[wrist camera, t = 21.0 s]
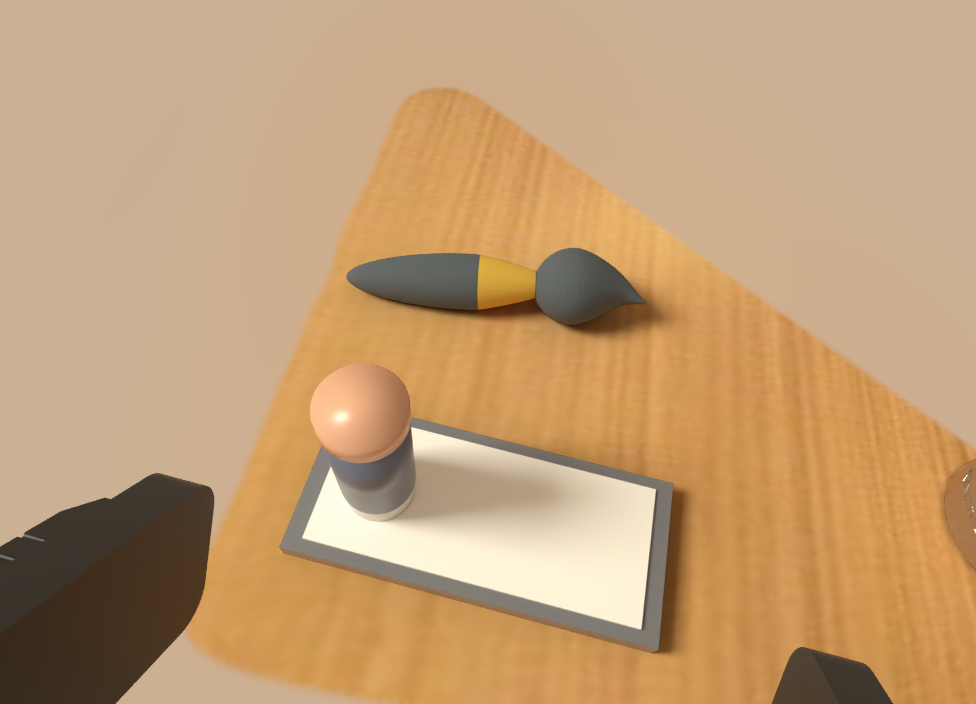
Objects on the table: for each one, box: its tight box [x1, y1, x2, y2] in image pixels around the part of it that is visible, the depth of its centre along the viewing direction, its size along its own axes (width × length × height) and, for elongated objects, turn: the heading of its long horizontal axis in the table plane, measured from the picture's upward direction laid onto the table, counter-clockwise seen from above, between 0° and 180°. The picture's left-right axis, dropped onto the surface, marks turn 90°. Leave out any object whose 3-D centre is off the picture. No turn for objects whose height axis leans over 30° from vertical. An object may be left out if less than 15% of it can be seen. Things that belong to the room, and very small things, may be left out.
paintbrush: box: [347, 248, 646, 325], centre depth 42 cm, size 20×5×5 cm, turn 91°
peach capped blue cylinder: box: [310, 364, 416, 522], centre depth 31 cm, size 4×4×10 cm
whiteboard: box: [280, 417, 673, 653], centre depth 35 cm, size 20×9×1 cm, turn 76°
